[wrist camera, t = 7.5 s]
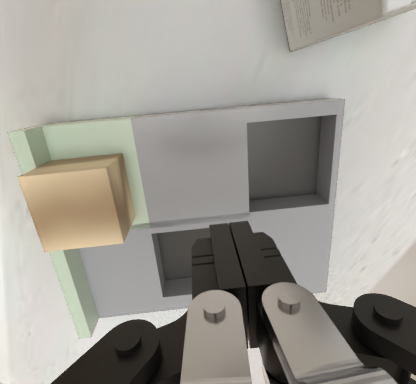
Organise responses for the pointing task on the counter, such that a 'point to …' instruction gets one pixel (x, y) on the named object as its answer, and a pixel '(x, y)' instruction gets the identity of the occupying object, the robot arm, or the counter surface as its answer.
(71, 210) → the block
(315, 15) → the small box
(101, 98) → the counter surface
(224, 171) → the grey slotted tray
